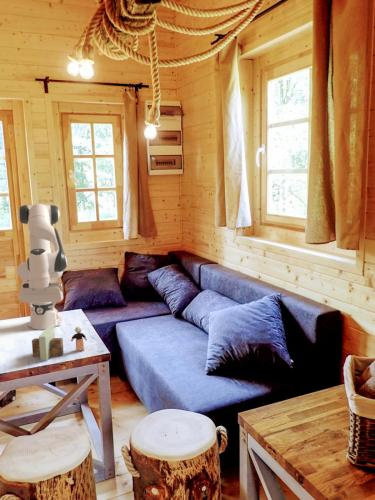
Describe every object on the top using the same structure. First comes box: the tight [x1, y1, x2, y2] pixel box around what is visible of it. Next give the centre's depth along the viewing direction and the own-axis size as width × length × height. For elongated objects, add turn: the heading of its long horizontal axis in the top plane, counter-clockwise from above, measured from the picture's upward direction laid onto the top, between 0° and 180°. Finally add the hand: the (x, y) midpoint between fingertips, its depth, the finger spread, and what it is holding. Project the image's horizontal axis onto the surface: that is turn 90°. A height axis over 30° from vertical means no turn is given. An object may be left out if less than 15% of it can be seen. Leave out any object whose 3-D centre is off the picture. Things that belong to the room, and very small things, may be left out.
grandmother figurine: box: [70, 325, 88, 353], centre depth 213 cm, size 8×4×13 cm, turn 117°
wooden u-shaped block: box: [31, 337, 65, 357], centre depth 209 cm, size 14×3×8 cm, turn 91°
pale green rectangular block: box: [38, 327, 56, 362], centre depth 209 cm, size 14×3×12 cm, turn 1°
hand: (42, 310), depth 208 cm, fingers open, 8 cm apart
